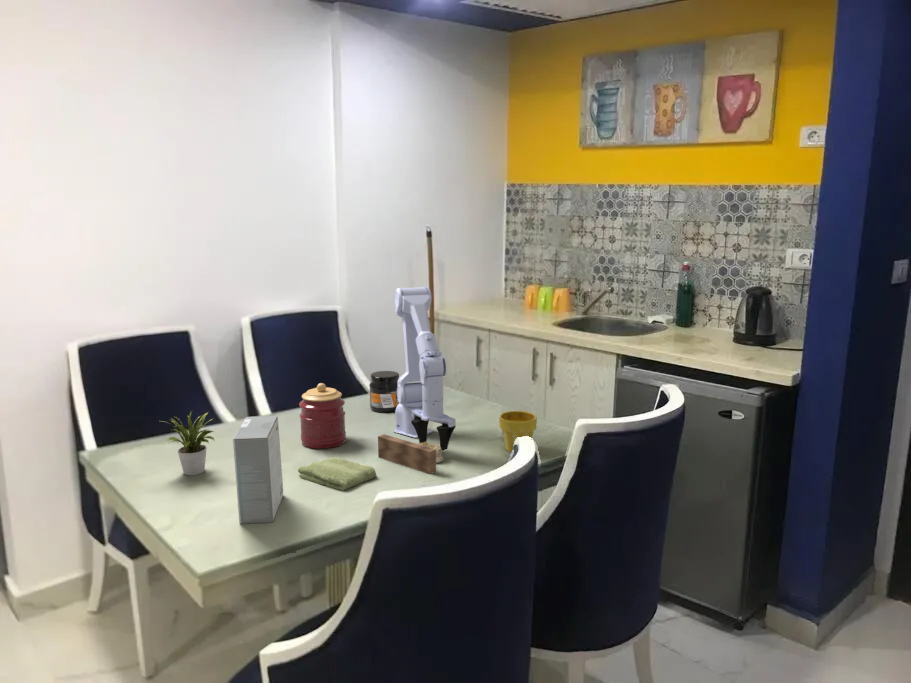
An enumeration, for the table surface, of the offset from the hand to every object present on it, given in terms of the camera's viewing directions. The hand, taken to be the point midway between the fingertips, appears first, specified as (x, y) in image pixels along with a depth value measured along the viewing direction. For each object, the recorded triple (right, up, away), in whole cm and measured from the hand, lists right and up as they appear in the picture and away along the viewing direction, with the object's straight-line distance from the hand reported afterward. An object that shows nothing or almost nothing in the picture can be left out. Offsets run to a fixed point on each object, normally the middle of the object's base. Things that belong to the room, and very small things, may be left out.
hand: (433, 446), depth 203 cm
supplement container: (-17, +6, +43) cm, 46 cm away
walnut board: (-7, -4, -8) cm, 11 cm away
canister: (-32, 0, +10) cm, 34 cm away
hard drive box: (-38, -10, -35) cm, 53 cm away
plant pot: (+24, -2, +4) cm, 24 cm away
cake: (-2, -3, -4) cm, 5 cm away
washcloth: (-24, -6, -16) cm, 29 cm away
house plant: (-63, -5, -13) cm, 64 cm away
